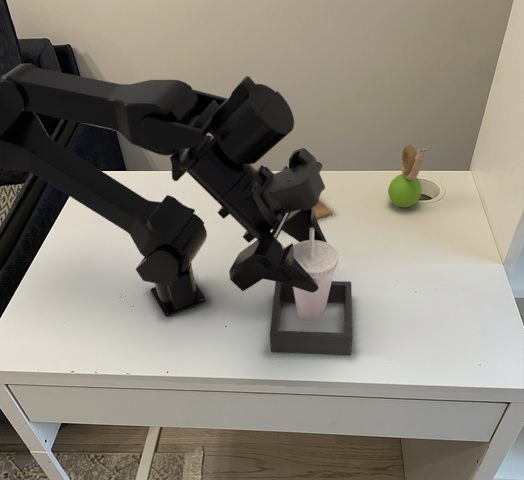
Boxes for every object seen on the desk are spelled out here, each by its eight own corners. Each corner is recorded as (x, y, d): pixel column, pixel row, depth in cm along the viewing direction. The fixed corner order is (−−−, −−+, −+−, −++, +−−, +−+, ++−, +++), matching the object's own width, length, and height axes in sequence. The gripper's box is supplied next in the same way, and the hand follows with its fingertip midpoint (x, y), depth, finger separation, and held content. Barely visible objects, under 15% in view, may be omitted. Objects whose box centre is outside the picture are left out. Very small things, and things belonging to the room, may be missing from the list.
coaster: (332, 214, 93) (332, 212, 92) (286, 231, 90) (286, 229, 90) (305, 189, 98) (305, 187, 98) (260, 204, 96) (260, 202, 95)
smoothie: (281, 322, 73) (278, 238, 62) (294, 291, 77) (294, 206, 66) (328, 332, 71) (333, 247, 61) (339, 299, 75) (346, 214, 65)
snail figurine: (395, 219, 91) (405, 152, 82) (381, 198, 95) (390, 132, 86) (426, 214, 91) (440, 146, 82) (411, 193, 95) (423, 127, 86)
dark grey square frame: (349, 299, 79) (351, 281, 76) (350, 355, 72) (352, 337, 69) (276, 297, 80) (275, 279, 77) (270, 352, 73) (269, 334, 70)
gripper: (248, 190, 51) (354, 298, 57) (304, 102, 63) (388, 199, 68) (185, 243, 59) (284, 334, 65) (244, 156, 71) (324, 239, 76)
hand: (322, 273), depth 68 cm, fingers closed on smoothie, 6 cm apart
